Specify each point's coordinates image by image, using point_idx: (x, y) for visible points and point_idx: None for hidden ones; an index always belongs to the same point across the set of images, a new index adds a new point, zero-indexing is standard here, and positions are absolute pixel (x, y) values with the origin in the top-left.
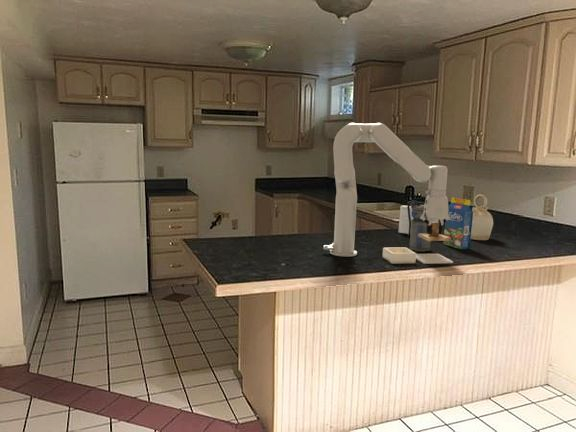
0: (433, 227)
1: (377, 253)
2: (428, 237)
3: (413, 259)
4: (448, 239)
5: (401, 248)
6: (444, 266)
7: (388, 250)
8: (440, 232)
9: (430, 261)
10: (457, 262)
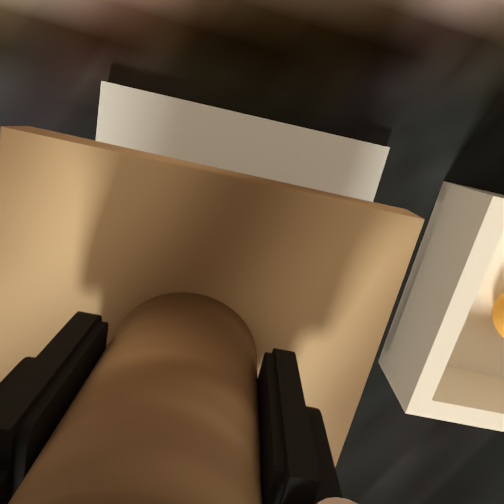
0: (234, 428)
1: (501, 478)
2: (373, 270)
3: (478, 190)
4: (48, 134)
5: (457, 401)
6: (265, 6)
7: None
8: (83, 322)
9: (320, 142)
10: (47, 95)
